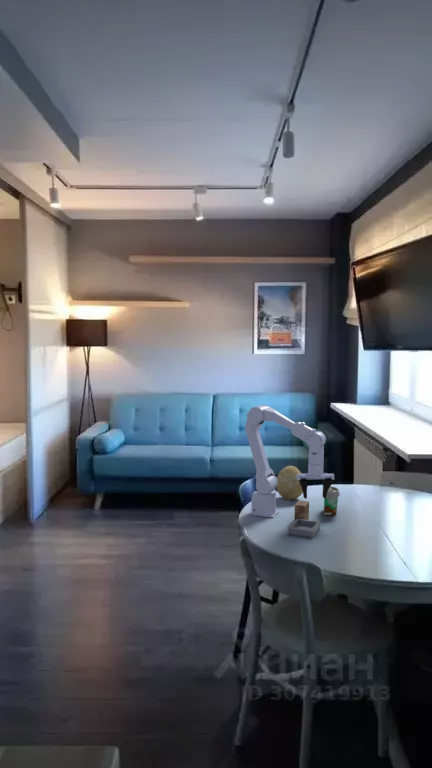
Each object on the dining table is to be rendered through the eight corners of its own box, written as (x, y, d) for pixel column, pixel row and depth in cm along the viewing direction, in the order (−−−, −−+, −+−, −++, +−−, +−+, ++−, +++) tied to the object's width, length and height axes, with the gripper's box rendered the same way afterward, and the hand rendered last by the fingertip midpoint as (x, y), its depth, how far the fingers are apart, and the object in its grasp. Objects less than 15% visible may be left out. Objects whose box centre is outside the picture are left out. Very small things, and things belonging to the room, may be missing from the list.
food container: (339, 518, 227) (340, 493, 226) (323, 517, 228) (324, 492, 227) (339, 509, 239) (339, 486, 238) (324, 508, 240) (324, 485, 239)
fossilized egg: (309, 499, 254) (310, 465, 253) (294, 505, 244) (295, 470, 243) (285, 493, 262) (286, 461, 261) (269, 499, 253) (270, 466, 251)
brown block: (294, 522, 221) (294, 504, 221) (298, 517, 228) (299, 500, 227) (304, 524, 220) (304, 506, 219) (308, 518, 226) (309, 501, 226)
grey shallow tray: (288, 534, 208) (288, 528, 207) (296, 524, 219) (296, 518, 218) (312, 538, 204) (312, 531, 204) (319, 528, 215) (320, 521, 215)
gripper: (300, 465, 216) (299, 500, 217) (337, 465, 218) (336, 500, 219) (295, 461, 223) (294, 495, 224) (331, 461, 225) (330, 495, 226)
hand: (314, 497), depth 222 cm, fingers open, 7 cm apart
